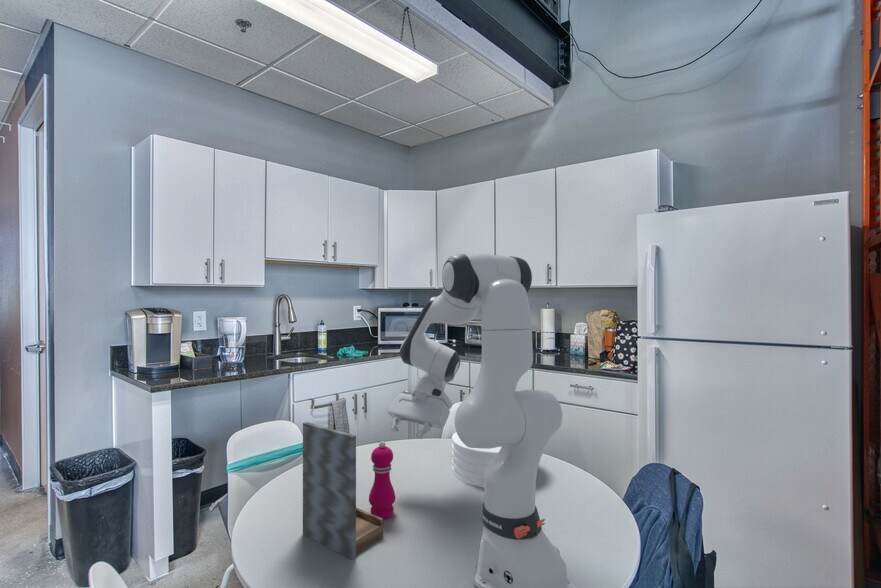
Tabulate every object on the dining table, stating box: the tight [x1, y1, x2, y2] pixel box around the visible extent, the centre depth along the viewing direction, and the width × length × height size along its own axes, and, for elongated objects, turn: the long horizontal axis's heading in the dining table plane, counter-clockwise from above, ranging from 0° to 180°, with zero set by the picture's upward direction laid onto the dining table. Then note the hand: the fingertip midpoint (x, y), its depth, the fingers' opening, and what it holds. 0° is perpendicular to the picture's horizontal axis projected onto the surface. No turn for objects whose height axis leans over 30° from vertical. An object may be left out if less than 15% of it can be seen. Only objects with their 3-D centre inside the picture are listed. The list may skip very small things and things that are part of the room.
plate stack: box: [451, 431, 502, 489], centre depth 152 cm, size 28×28×12 cm
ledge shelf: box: [302, 421, 384, 560], centre depth 111 cm, size 18×11×28 cm, turn 54°
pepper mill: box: [368, 440, 396, 520], centre depth 122 cm, size 7×7×20 cm
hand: (405, 434), depth 130 cm, fingers open, 8 cm apart
